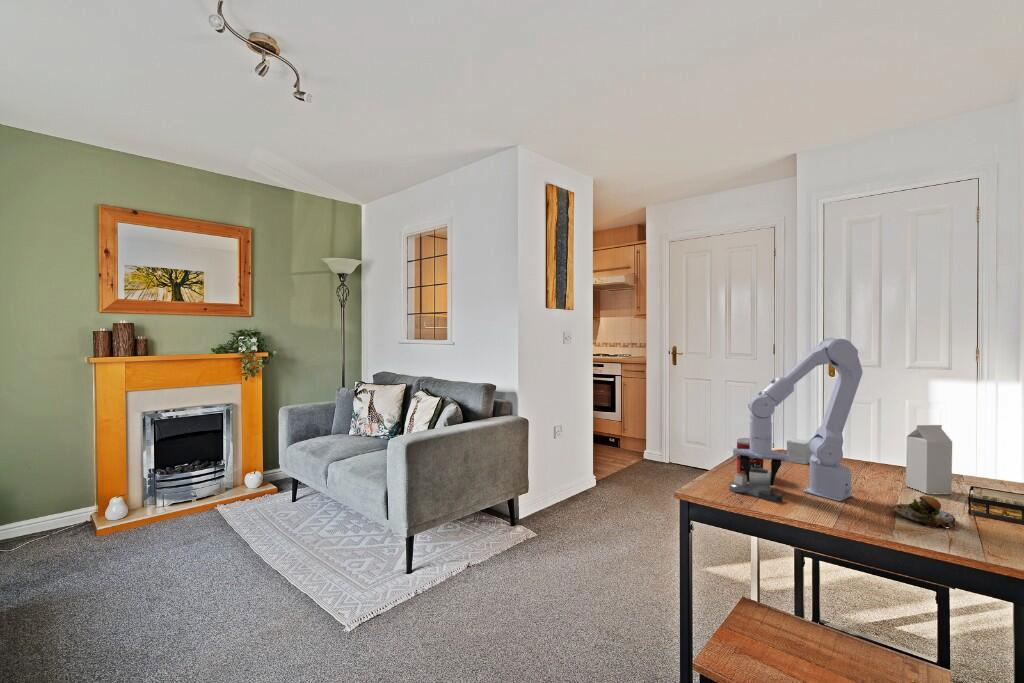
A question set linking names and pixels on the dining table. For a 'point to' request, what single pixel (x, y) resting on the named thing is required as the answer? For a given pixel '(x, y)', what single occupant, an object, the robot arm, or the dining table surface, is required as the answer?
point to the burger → (926, 512)
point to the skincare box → (798, 451)
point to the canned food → (754, 462)
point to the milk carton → (929, 460)
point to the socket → (760, 478)
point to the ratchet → (752, 489)
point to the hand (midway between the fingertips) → (760, 483)
